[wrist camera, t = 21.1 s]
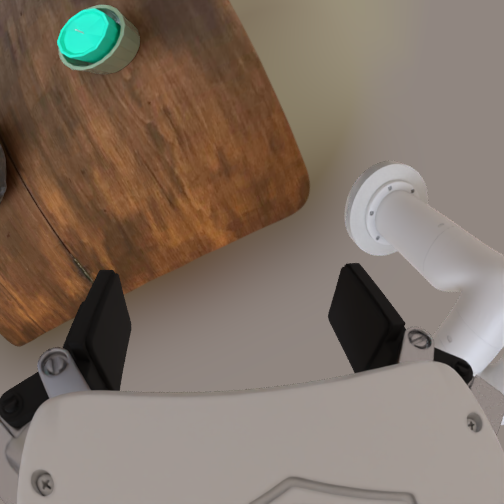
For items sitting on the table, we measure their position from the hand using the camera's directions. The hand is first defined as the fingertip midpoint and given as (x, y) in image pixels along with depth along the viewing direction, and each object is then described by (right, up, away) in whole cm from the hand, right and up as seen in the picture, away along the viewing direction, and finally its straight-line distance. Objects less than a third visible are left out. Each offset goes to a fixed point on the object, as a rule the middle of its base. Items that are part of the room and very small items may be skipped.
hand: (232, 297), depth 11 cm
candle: (-18, +29, +15) cm, 37 cm away
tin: (-18, +30, +15) cm, 38 cm away
